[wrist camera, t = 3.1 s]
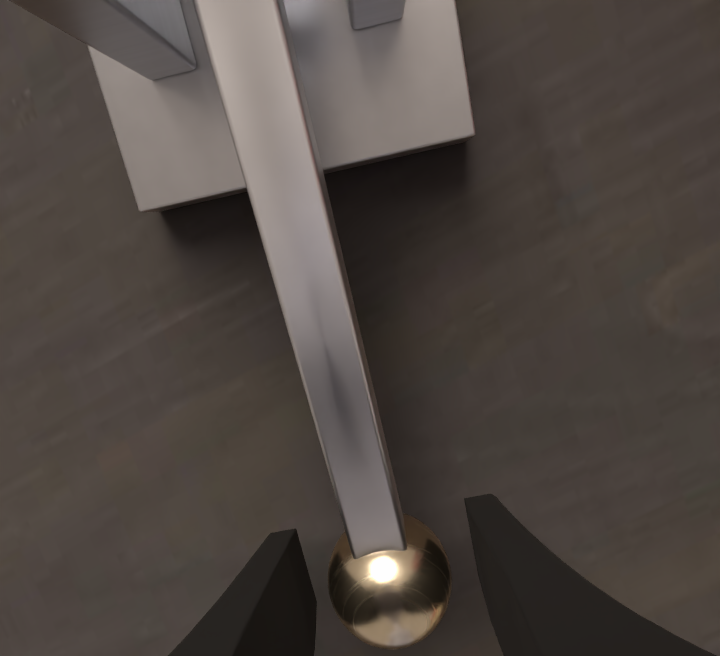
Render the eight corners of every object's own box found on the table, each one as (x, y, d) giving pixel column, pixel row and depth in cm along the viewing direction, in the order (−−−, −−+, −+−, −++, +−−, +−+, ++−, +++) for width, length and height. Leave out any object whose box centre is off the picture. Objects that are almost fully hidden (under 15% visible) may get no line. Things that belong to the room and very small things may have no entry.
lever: (448, 563, 12) (471, 669, 10) (344, 581, 12) (341, 689, 10) (272, -314, 7) (225, -573, 4) (89, -261, 7) (-57, -479, 4)
